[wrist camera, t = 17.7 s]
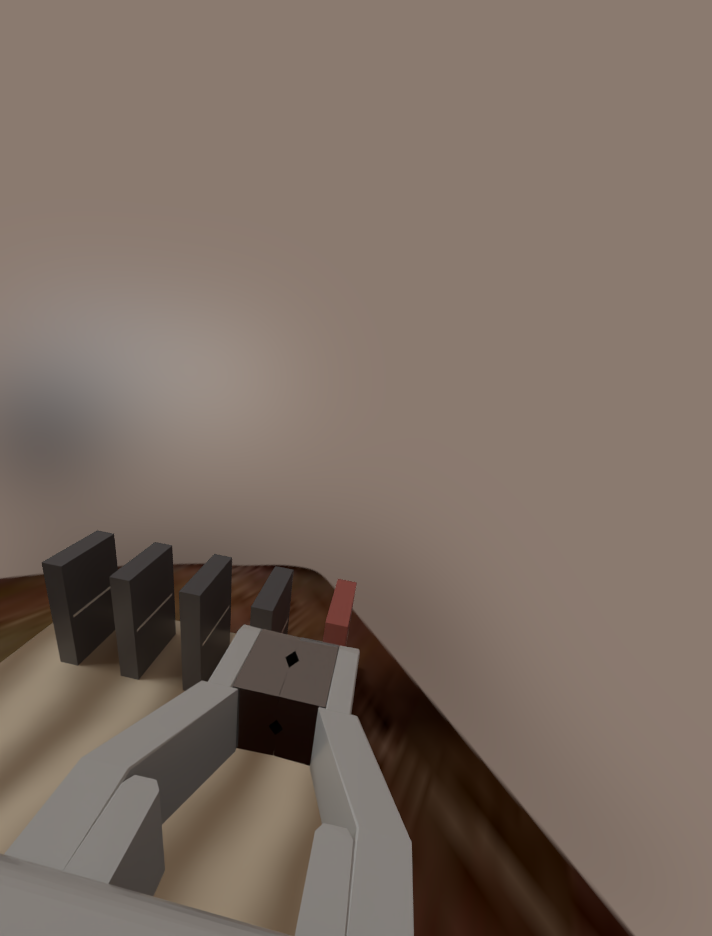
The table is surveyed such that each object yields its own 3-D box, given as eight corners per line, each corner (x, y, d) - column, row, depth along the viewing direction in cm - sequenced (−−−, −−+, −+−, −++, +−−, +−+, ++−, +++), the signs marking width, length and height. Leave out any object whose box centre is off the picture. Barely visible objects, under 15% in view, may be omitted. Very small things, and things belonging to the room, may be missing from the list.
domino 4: (246, 705, 28) (251, 606, 25) (268, 654, 33) (275, 566, 29) (265, 709, 28) (272, 611, 24) (285, 658, 32) (293, 569, 29)
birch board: (-354, 954, 15) (-367, 944, 15) (83, 607, 36) (82, 600, 35) (280, 1167, 13) (282, 1160, 13) (354, 667, 34) (356, 659, 33)
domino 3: (182, 690, 28) (178, 591, 25) (213, 642, 33) (214, 553, 30) (201, 694, 28) (199, 595, 25) (229, 645, 33) (232, 557, 30)
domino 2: (120, 675, 29) (109, 576, 25) (160, 630, 33) (154, 542, 30) (138, 679, 29) (129, 580, 25) (176, 633, 33) (172, 545, 30)
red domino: (311, 720, 27) (325, 622, 24) (325, 666, 32) (338, 578, 29) (331, 724, 27) (347, 627, 24) (341, 670, 32) (356, 582, 29)
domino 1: (60, 661, 29) (41, 562, 26) (108, 618, 34) (97, 530, 30) (78, 665, 29) (61, 566, 26) (123, 622, 34) (113, 533, 30)
